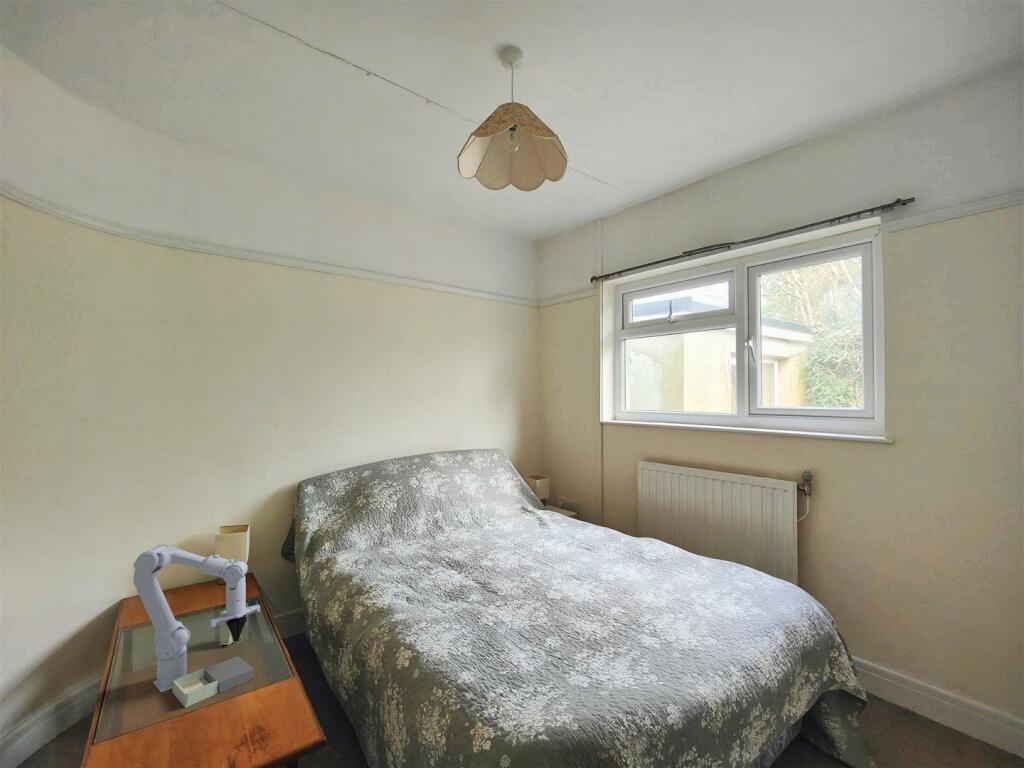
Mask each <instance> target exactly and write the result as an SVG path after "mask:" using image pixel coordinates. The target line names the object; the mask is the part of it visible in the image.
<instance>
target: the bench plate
mask: <svg viewBox="0 0 1024 768" xmlns="http://www.w3.org/2000/svg"><path fill="white" fill-rule="evenodd" d="M204 679H205V680H206V681H207V682H208V683H212V682H215V681H218V693H217V694H222V693H223V692H226V691H229V690H230V689H233V688H235V687H237V686H240V685H242V684H244V683H247V682H250V680H253V679H255V668H254V667H253V666H251V664H249V663H248V662H246V661H244V660H243V658H241V657H239V655H237V656H234V657H232V658H229V659H226V660H225V661H221V662H218V663H217V664H213V665H211V666H209V667H206V668H204Z"/></svg>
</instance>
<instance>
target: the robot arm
mask: <svg viewBox="0 0 1024 768" xmlns="http://www.w3.org/2000/svg"><path fill="white" fill-rule="evenodd" d="M172 564H179V565H184V566H188V567H194V568H199V569H200V571H201V572H202V573H203V574H205V575H210V576H214V577H218V578H221V579H223V581H224V582H225V585H226V586H225V610H226V613H225V614H223V615H221V616H220V615H219V616H217V617H215V618H212V619H210V620H209V622H210V624H209V625H210V627H211V628H214V627H216V626H219V625H220V624H221V623H224V622H226V624H227V626H228V628H229V630H230V632H231V635H232V639H233V641H234V642H236V643H237V642H239V641H241V640H240V635H241V636H242V632H243V630H244V627H245V624H246V623H247V619H248V617H246V616H249V615H250V614H253V613H259V612H261V605H260V604H254V605H251V606H246V604H247V603H246V602H247V601H246V600H247V599H246V598H247V596H246V595H247V593H246V588H247V587H246V586H247V585H246V574H247V573H248V570H249V565H248V564H247V562H246V561H244V560H242V559H236V560H235V559H233V558H230V559H228V558H224V557H221V556H220V555H219V554H214V555H213V554H212V555H209V556H207V557H205V556H202V555H199V554H196V553H193V552H189V551H186V550H183V549H180V548H178V547H176V546H174V545H167V544H163V543H162V544H159V545H156V546H155V547H154V548H151V549H148V550H146V551H144V552H142V553H140V554H139V555H138V556H137V558H136V559H135V560H134V563H133V567H134V573H133V585H134V587H135V589H136V591H137V594H138V596H139V599H140V600H141V602H142V604H143V606H144V608H145V611H146V613H147V615H148V617H149V620H150V622H151V624H152V625H153V628H154V630H155V634H154V637H153V644H154V653H155V656H156V657H157V665H156V680H154V681H153V683H152V684H154V686H155V687H156V688H157V689H158V691H159V692H160V693H164V692H165V691H169V690H172V680H175V679H178V678H180V677H183V676H185V675H187V662H188V661H187V658H188V655H187V651H188V649H187V644H188V643H189V641H190V640H191V632H190V630H189V629H188V628H187V627H185V626H184V625H183V622H181V621H178V620H176V619H175V617H174V614H173V612H172V609H171V607H170V605H169V603H168V601H167V598H166V597H165V595H164V593H163V590H162V588H161V585H160V584H159V582H158V580H157V577H158V575H159V573H160V571H161V570H162V568H164V567H165V566H168V565H172Z"/></svg>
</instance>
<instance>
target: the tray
mask: <svg viewBox="0 0 1024 768" xmlns="http://www.w3.org/2000/svg"><path fill="white" fill-rule="evenodd" d="M204 669H205V668H204V667H203V668H201V669H198V670H196V671H193V672H191V673H188V674H186V675H185V676H183V677H180V678H178V679H175V680H172V688H171V690H172V694H173V695H174V696H175V697H176V699H177V700H178V701H179V702H180V703H181V704H182V706H183V707H184V708H188V707H190V706H193V705H194V704H196V703H199V702H201V701H204V700H206V699H208V698H210V697H212V696H215V695H218V694H219V693H218V681H215V682H212V683H208V682H207V681H206V680H205V679H204ZM196 680H199V681H200V682H201V683H202V684H203V687H201V688H198V689H196V690H193V691H191V692H189V693H187V692H186V691H185V690H184V689H183V688H182V687H181V686H183V685H186V684H188V683H191V682H193V681H196Z"/></svg>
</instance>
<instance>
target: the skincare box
mask: <svg viewBox="0 0 1024 768" xmlns="http://www.w3.org/2000/svg"><path fill="white" fill-rule="evenodd" d="M225 613H226V609H225V610H223V611H221V612H219V616H221V615H223V614H225ZM240 636H241V637H242V634H241V635H240ZM232 642H233V639H232V635H231V632H230V630H229V628H228V626H227V624H226V622H224V623H221V624H219V644H220V643H221V644H226V645H229V644H231V643H232Z"/></svg>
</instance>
